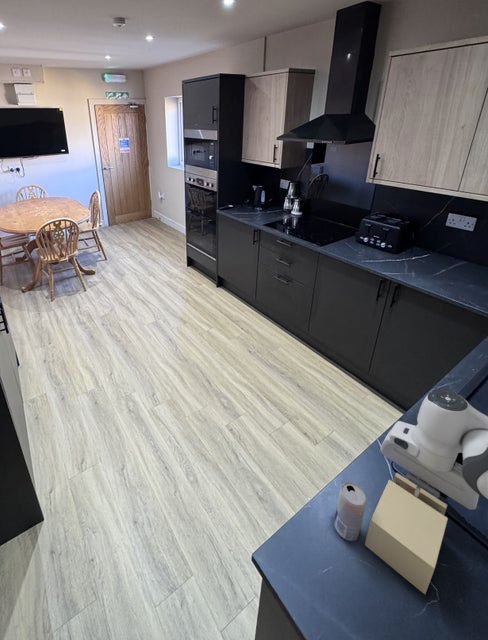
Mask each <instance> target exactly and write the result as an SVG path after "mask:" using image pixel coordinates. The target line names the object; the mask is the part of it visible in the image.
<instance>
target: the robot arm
mask: <svg viewBox="0 0 488 640" xmlns="http://www.w3.org/2000/svg"><path fill="white" fill-rule="evenodd" d="M416 419H417V424H416V425H415V424H412V423H407V422H405V421H401V420H398V421H396V422H395V424H394V425H393V426H392V427H391V429H390V430H389V431H388V433H387V434H386V436H385V437H384V440H383V441H382V443H381V445H380V449H379V451H380V453H381V455H382V456H383V457H385V458H387V459H388V460H389V461H392V463H395V464H397V466H399V467H401V468H402V469H404V470H406V471H407V472H408V473H410V474H411V475H413V476H414V477H416V478H418V479H419V480H421V481H422V482H424V483H426V484H427V485H429V486H430V487H432V488H434V489H435V490H437V491H438V492H440V493H442V494H444V495H446V496H447V497H448V498H450V499H452V500H453V501H455V502H457V503H458V504H460V505H461V506H463V507H465V508H466V509H468V510H471V511H472V510H473V511H475V510H477V507H478V503H479V498H480V497H481V498H482V499H484V500H485V501H487V502H488V415H486V414H484V413H482V412H481V411H479V410H477V409H476V408H475V407H473V406H472V405H471V404H470V403H469V401H467V400H466V399H465V397H463V396H461V395H459V394H457V393H455V392H453V391H449V390H444V389H437V390H433V391H430V392H429V393H427V394H426V395H425V397H424V399H423V400H422V402H421V405H420V407H419V410H418V413H417V416H416ZM459 454H462V463H459V462H457V461H456V460H457V457H458V455H459Z"/></svg>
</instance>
